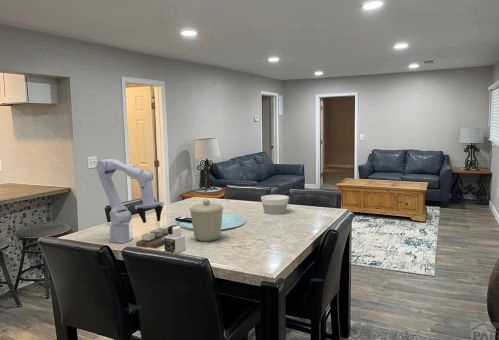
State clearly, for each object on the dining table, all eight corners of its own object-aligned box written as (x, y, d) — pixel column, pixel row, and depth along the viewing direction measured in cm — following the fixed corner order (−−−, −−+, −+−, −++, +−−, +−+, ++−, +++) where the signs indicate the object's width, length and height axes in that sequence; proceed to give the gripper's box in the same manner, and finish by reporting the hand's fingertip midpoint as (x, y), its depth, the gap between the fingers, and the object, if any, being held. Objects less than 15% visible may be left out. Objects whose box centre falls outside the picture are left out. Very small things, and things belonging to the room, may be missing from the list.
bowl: (290, 215, 257) (290, 199, 256) (261, 215, 257) (260, 199, 256) (288, 209, 276) (287, 194, 275) (261, 209, 276) (260, 194, 275)
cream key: (141, 239, 195) (141, 234, 195) (147, 237, 200) (147, 232, 199) (149, 240, 194) (149, 235, 193) (154, 238, 198) (154, 233, 198)
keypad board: (136, 245, 195) (136, 241, 195) (162, 234, 215) (162, 230, 215) (156, 248, 190) (155, 243, 190) (180, 236, 211) (180, 232, 210)
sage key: (158, 232, 208) (158, 228, 208) (163, 230, 213) (163, 226, 212) (165, 233, 207) (165, 228, 206) (170, 231, 211) (170, 226, 211)
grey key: (150, 236, 202) (150, 231, 202) (155, 233, 206) (155, 229, 206) (157, 236, 200) (157, 232, 200) (162, 234, 204) (162, 230, 204)
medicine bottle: (164, 251, 185) (163, 226, 184) (175, 247, 191) (174, 223, 190) (175, 253, 181) (174, 228, 180) (185, 249, 187) (184, 225, 186)
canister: (207, 232, 218) (206, 195, 216) (231, 237, 207) (230, 198, 204) (183, 239, 204) (181, 200, 202) (207, 245, 193) (205, 204, 191)
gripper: (130, 197, 191) (134, 225, 192) (158, 194, 189) (162, 221, 190) (137, 195, 198) (141, 222, 199) (163, 192, 196) (167, 219, 197)
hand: (151, 221), depth 195 cm, fingers open, 7 cm apart
